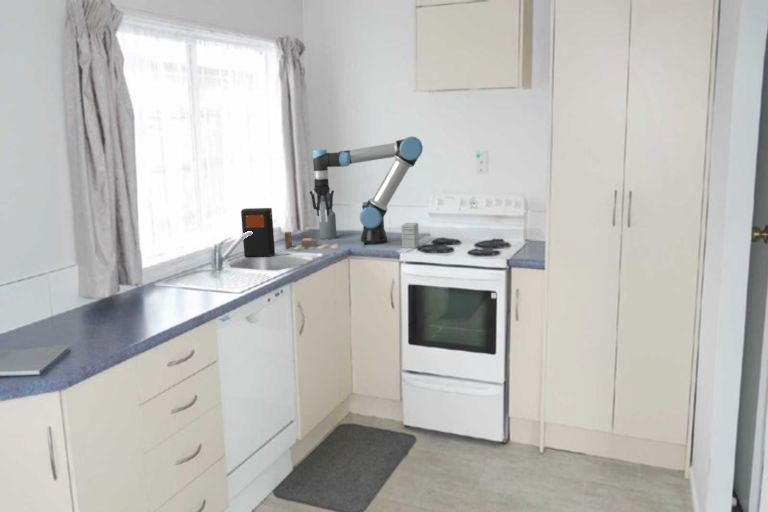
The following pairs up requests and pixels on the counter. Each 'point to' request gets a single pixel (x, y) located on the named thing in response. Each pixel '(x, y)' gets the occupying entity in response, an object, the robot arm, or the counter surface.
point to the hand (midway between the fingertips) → (323, 221)
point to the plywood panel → (318, 246)
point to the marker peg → (288, 240)
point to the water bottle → (328, 227)
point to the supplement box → (410, 235)
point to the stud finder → (309, 242)
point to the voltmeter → (258, 232)
